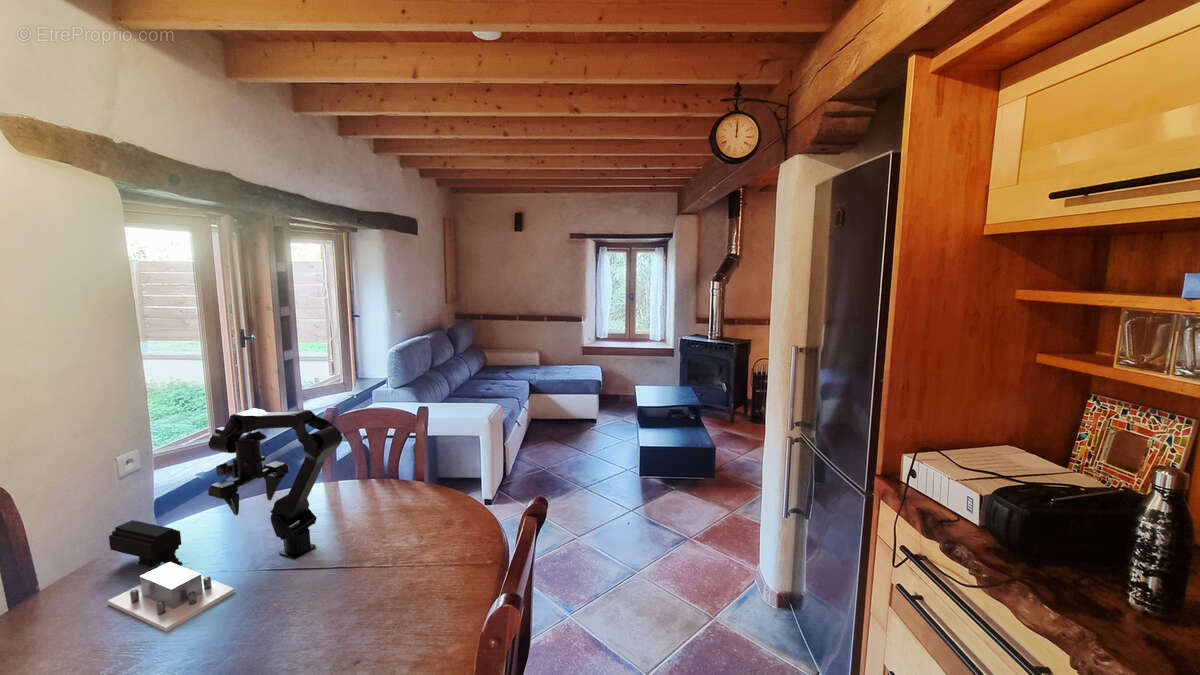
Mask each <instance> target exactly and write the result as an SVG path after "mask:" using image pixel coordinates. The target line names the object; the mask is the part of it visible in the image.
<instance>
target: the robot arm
mask: <svg viewBox="0 0 1200 675" xmlns="http://www.w3.org/2000/svg"><path fill="white" fill-rule="evenodd" d="M227 421H228V422H227V423H226V425H225V426H220V427H217V428H215V429H214V433H213V434H212V436H211V437H210V438H209V441H208V447H209V449H210V450H211V451H213V452H219V453H225V454H235V458H234V459H232V463H230V464H227V462H224V463H220V464H218V465H216V466H215V470H216V474H217V477H225V479H223V480H220V481H218V482H215V483H213V484H212V483H211V484H210V486H209V487H208V490H207V494H208V496H209V497H213V498H217V499H221V500H224V501H225V503H226V504H227V505H228V507H229V509H230V511H231V512H232V513H233V515H234V516H238V515H239V513H240V512H239V511H240V493H238V491H239V487H242V486H244V485H247V484H249V483H252V482H255V481H257V480H260V479H262V478H263V479H264V481H265V490H266V499H267V501H269V502H270V501H272V499H273V497H274V495H275V493H276V491H277V489H278V487H279V485H280V483H281V482H282V480H283V478H285V477H286V474H289V473H290V466H289V464H288V463H286V462H282V461H280V460H279V461H278V460H274V461H271V462H269V463H266V464H263V462H264V461H266V456H264V455H262V444H261V442H262V441H263V440H265V439H267V436H266V434H264V433H262V432H261V431H260V430H261V429H263V430H264V429H289V428H291V429H293V430H294V431H295V434H296V438H297V441H298V442H299V443H300V444H301V445H302V446H303V447H302V448H303V449H302V450H303V454H304V459H303V462H302V464H301V466H300V467H299V470H298V472H297V474H296V477H295V479H294V481H293V482H292V485H291V488H290V489H289V491H288V494H286V495H284V496H283V497H279V499H276V500H275V501H274V504H273V508H272V509H271V510H270V511H269V513H271V515H270V523H271V525H272V528H273V531H274V533H275V536H276V537H277V538H279V539H280V540H281V541H282V540H283V549H282V550H280V551H279V553H278V554H279V555H280V556H284V557H287V558H290V559H293V560H296V559H298V558H300V557H302V556H303V555H305V554H307V553H308V552H310V551H312V550H313V549H316V547H317V546H316V544H314V543H311V533H310V532H311V531H310V527H312V526H314V525H315V524H316V521H317V516H316V515H315V514H314V513H313V512H312V511H311V509H310V501H309V500H308V497H309V496H310V494H311V491H312V489H313V487H314V485H315V483H316V481H317V479H318V477H319V474H320V472H321V471H322V468H323V465H324V464H325V461H326V460H327V459H328V458H329V457H330V456H331V455H332V454H333V453H334V452H336V450H337V449H338V447H339V446H340V445H341V444H342V441H343V436H342V433H341V431H340V430H339V429H338V428H337V427H336V426H335V425H334V424H332V423H331V422H330V421H329V420H327V419H324V418H322V417H320V416H317V415H316V414H315V413H314V412H313V411H312V410H309V409H304V410H296V411H295V410H294V411H291V410H290V411H274V412H273V411H272V412H269V411H266V410H265V409H262V408H261V409H260V408H253V407H252V408H250V409H247V410H242V411H241V412H236V413H234V414H231V415H230V416H229V418H228V420H227ZM306 426H309V427H310V428H314V429H316V430H317V431H314V432H312V433H309V431H307V429H306ZM253 431H254V432H253ZM230 477H231V478H233V479H235V480H233V481H229V480H226V478H230Z"/></svg>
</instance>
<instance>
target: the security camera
mask: <svg viewBox="0 0 1200 675" xmlns="http://www.w3.org/2000/svg"><path fill="white" fill-rule="evenodd" d="M114 529H115V530H112V531H111V534H110V535H108V539H109V540H108V542H109V548H110V551H115V552H119V553H122V554H125V555H130V556H134V557H135V556H136V557H138V558H139V560H138V561H137V565H139V566H143V567H147V568H152V567H155V566H157V565H158V564H160V563H163V564H166V563H168V562H171V563H174V564H176V565H179V566H183V562H182V561H180V560H179V558H178V557H177V555H176V553H177V550H179V549H180V546H181V545H182V536H181V530H177V529H174V528H172V527H167V526H162V525H158V524H152V523H148V522H143V521H138V520H134V519H133V520H132V519H131V520H130V521H127V522H124V523H122V524H120V525H118V526H115V527H114Z"/></svg>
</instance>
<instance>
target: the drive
mask: <svg viewBox="0 0 1200 675" xmlns="http://www.w3.org/2000/svg"><path fill="white" fill-rule="evenodd" d="M184 567H185V566H183V565H181V566H179V565H176V564H174V563H171V562H168V563H163V564H162V565H160V566H158V567H157V568H154V569H152V570H150V571H147V572H145V573H144V574H143V573H142V574H141V575H139V582H140V585H141V591H142V596H144V597H147V598H149V599H151V600H154V601H156V602H160V601H165V606H167V607H170V608H172V609H175V608H177V607H179V606H180V605H182V604H184V603H186V602H188V601H189V599H188V594H189V593H190V592H193V591H195V592H196V597H197V596H199V595H200V594H202V593H203V588H202V579H201V576H202V574H201V573H200V572H197V571H195V570H192V569H189V568H187V567H185V568H184Z"/></svg>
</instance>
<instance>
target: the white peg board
mask: <svg viewBox="0 0 1200 675" xmlns="http://www.w3.org/2000/svg"><path fill="white" fill-rule="evenodd" d="M183 567H184V568H186V566H183ZM211 577H212V576H203V575H201V579H202V588H203V593H202V594H200V595H199V596H197V597H196V592H195V591H193V592H190V593H189V594H188V599H189V601H188V602H186V603H184V604H182V605H180V606H179V607H177V608H175V609H172V608H170V607H167V606H165V601H160V602H156V601H154V600H151V599H149V598H147V597H144V596H142V591H141V584H139V585H137V586H135V587H133V588H131V589H129V590H127V591H125V592H123V593H121V594H119V595H118V594H117V595H116V596H115V597H112V598H110V599H108V600H107V605H109V606H110V607H113V608H115V609H116V610H119V611H122V612H123V613H125V614H128V615H130V616H132V617H134V618H135V619H138V620H140V621H142V622H145V623H146V624H149V625H151V626H152V627H155V628H157V629H159V630H160V631H164V632H166V633H167V632H169V631H171V630H172V629H174V628H175V627H178V626H179V625H181V624H182V623H185V622H186V621H187V620H190V619H191V618H193V617H195V616H196V615H198V614H200V613H201V612H203V611H205V610H206V609H209V608H210V607H212V606H214V605H215V604H217V603H218V602H220V601H222V600H224V599H225V598H227V597H229V596H231V595H233V594H235V588H234V587H231V586H229V585H226V584H224V583H221V582H220V581H219V582H218V581H216V580H214V579H211Z"/></svg>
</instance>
